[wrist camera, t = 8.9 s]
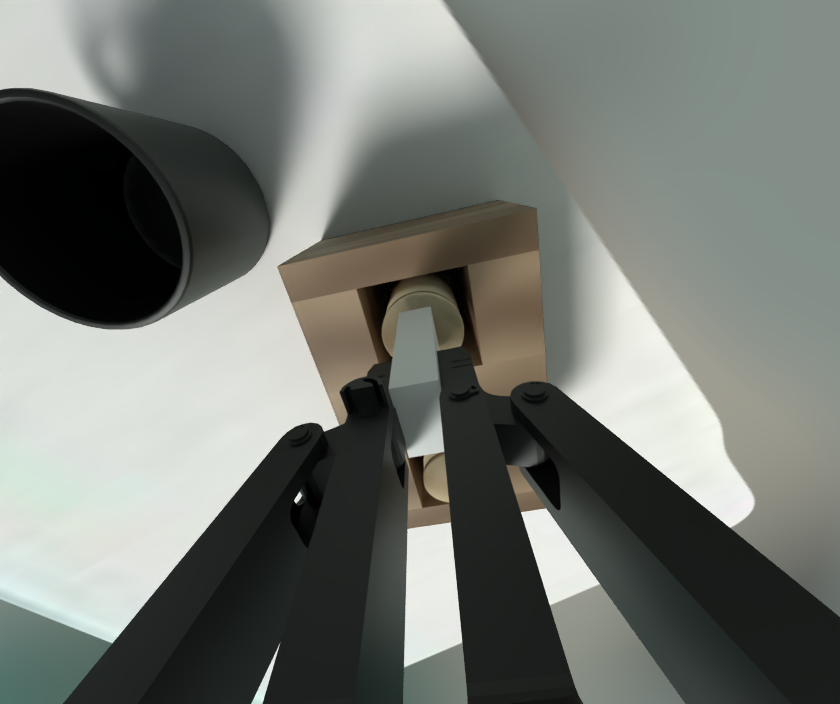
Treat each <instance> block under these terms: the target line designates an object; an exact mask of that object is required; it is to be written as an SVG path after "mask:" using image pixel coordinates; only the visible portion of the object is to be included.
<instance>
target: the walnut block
mask: <svg viewBox="0 0 840 704" xmlns="http://www.w3.org/2000/svg"><path fill="white" fill-rule="evenodd" d="M277 268H278V270H279V273H280V275H281V278H282V280H283V283H284V285H285V288H286V290H287V293H288V295H289V298H290V301H291V303H292V306H293V308H294V311H295V313H296V316H297V318H298V321H299V323H300V326H301V329H302V331H303V334H304V336H305V339H306V341H307V344H308V346H309V349H310V351H311V354H312V356H313V359H314V362H315V364H316V367H317V369H318V372H319V374H320V377H321V379H322V382H323V384H324V387H325V389H326V392H327V395H328V397H329V400H330V402H331V405H332V407H333V410H334V412H335V415H336V417H337V420H338V423H339V425H342V424H344V423H345V422H346V418H347V415H348V414H347V411H346V409H345V406H344V403H343V401H342V398H341V395H340V393H339V392H340V390H341V389H342V387H344V386H345V385H346V384H347V383H349V382H351V381H353V380H355V379H358V378H361V377H366V376H367V373H368V371H369V370H370V369H371V368H372V366H373V365H374V364H378V363H383V362H388V361H392V359H393V357H392V356H391V355H390V354H389V352H388V351H387V349H386V347H385V345H384V342H383V338H382V325H383V321H384V317H385V315H386V311H387V307H388V303H387V299H386V296H385V292H384V288H383V284H382V283H387V282H391V281H396V280H401V279H405V278H410V277H415V276H419V275H424V274H429V273H433V272H438V271H443V270H448V269H452V268H457V270H458V276H459V282H460V288H461V294H462V300H463V306H464V312H465V314H462V315H461V318H462V321H463V325H464V338H463V342H462V345H461V346H462V347H464V348H465V349H467V350H468V351H469V353H470V356H471V359H472V362H473V366H474V369H475V372H476V376H477V379H478V382H479V385H480V386H481V388H482V389H483V390H484V391H485V392H487V393H489V394H493V395H498V396H510V394H511V391H512V390H513V389H514V388H515V387H516V386H518V385H520V384H522V383H526V382H531V381H541V382H546V383H547V374H546V358H545V341H544V325H543V308H542V292H541V275H540V258H539V242H538V225H537V209H536V208H532V207H528V206H523V205H519V204H514V203H509V202H505V201H500V200H497V201H492V202H488V203H484V204H479V205H475V206H471V207H466V208H462V209H457V210H453V211H449V212H444V213H440V214H436V215H431V216H427V217H422V218H418V219H414V220H409V221H405V222H401V223H396V224H392V225H387V226H383V227H379V228H374V229H370V230H366V231H361V232H357V233H353V234H348V235H344V236H339V237H335V238H331V239H326V240H322V241H320V242H318V243H316V244H315V245H313V246H311V247H309V248H308V249H306V250H304V251H303V252H301V253H299V254H298V255H296V256H294V257H293V258H291V259H289V260H287V261H286V262H284V263H282V264H281V265H279V266H277ZM405 458H406V461H407V465H408V469H409V482H408V521H407V529H409V528H415V527H422V526H429V525H436V524H443V523H449V522H451V517H450V507H449V503H448V502H444V501H441V500H438V499H436V498H434V497H433V496H432V495H430V494H429V493H428V491H427V490H426V488H425V486H424V455H423V456H417V457H411V458H409V456H408V453H407V450H406V451H405ZM506 466H507V469H508V472H509V476H510V479H511V482H512V485H513V489H514V492H515V495H516V498H517V501H518V505H519V508H520V511H521V512H524V511H531V510H538V509H545V508H546V507H545V506H544V504H543V503H542V501H541V500H540V499H539V497H538V496H537V494H536V493H535V492H534V490H533V489H532V487H531V486H530V485H529V483H528V482H527V480H526V479H525V478H524V476H523V475H522V473H521V472H520V469H519V467H518V466H511V465H506Z"/></svg>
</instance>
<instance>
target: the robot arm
mask: <svg viewBox="0 0 840 704" xmlns="http://www.w3.org/2000/svg"><path fill="white" fill-rule="evenodd" d="M339 393H340V395H341V398H342V401H343V403H344V406H345V409H346V411H347V414H348V415H347V418H346V422H345V423H344V424H342V425H340V426H338V427H335V428H333V429H330V430H328V431H325V432H324V431H323V429H322V427H321V426H320V425H319V424H317V423H307V424H302V425H300V426H296V427H294V428H293V429H291V430H290V431H288V432H287V433H286V434H285V435H284V436H283V437H282V438H281V439H280V440H279V441H278V442H277V444H276V445H275V446H274V447H273V449H272V450H271V451H270V452H269V453H268V455H267V456H266V457H265V458H264V460H263V461H262V462H261V463H260V464H259V466H258V467H257V468H256V469H255V471H254V472H253V473H252V474H251V475H250V477H249V478H248V479H247V480H246V481H245V483H244V484H243V485H242V486H241V488H240V489H239V490H238V491H237V492H236V494H235V495H234V496H233V497H232V499H231V500H230V501H229V502H228V503H227V505H226V506H225V507H224V508H223V510H222V511H221V512H220V513H219V514H218V516H217V517H216V518H215V519H214V520H213V522H212V523H211V524H210V525H209V527H208V528H207V529H206V530H205V531H204V533H203V534H202V535H201V536H200V538H199V539H198V540H197V541H196V542H195V544H194V545H193V546H192V547H191V548H190V550H189V551H188V552H187V553H186V555H185V556H184V557H183V558H182V559H181V561H180V562H179V563H178V564H177V566H176V567H175V568H174V569H173V570H172V572H171V573H170V574H169V575H168V577H167V578H166V579H165V580H164V581H163V583H162V584H161V585H160V586H159V587H158V589H157V590H156V591H155V592H154V594H153V595H152V596H151V597H150V598H149V600H148V601H147V602H146V603H145V605H144V606H143V607H142V608H141V609H140V611H139V612H138V613H137V614H136V616H135V617H134V618H133V619H132V620H131V622H130V623H129V624H128V625H127V626H126V628H125V629H124V630H123V631H122V633H121V634H120V635H119V636H118V637H117V639H116V640H115V641H114V642H113V644H112V645H111V646H110V647H109V648H108V650H107V651H106V652H105V653H104V655H103V656H102V657H101V658H100V660H99V661H98V662H97V663H96V664H95V665H94V667H93V668H92V669H91V670H90V672H89V673H88V674H87V675H86V676H85V678H84V679H83V680H82V681H81V683H80V684H79V685H78V686H77V687H76V689H75V690H74V691H73V692H72V694H71V695H70V696H69V697H68V698H67V700H66V701H65V702H64V703H63V704H251V703H252V701H253V699H254V697H255V694H256V692H257V690H258V688H259V686H260V684H261V682H262V680H263V678H264V676H265V673H266V671H267V669H268V667H269V665H270V663H271V661H272V659H273V657H274V655H275V652H276V650H277V648H278V646H279V644H280V646H279V650H278V653H277V656H276V660H275V663H274V667H273V670H272V673H271V677H270V680H269V684H268V687H267V690H266V694H265V697H264V701H263V704H403V678H404V639H405V599H406V560H407V521H408V482H409V469H408V465H407V461H406V458H405V451H406V450H407V453H408V456H409V458H411V457H417V456H423V455H429V454H435V453H441V452H444V454H445V465H446V475H447V486H448V496H449V507H450V517H451V527H452V538H453V548H454V559H455V569H456V580H457V590H458V601H459V611H460V621H461V632H462V642H463V652H464V662H465V673H466V683H467V696H468V704H583V702H582V701H581V699H580V697H579V696H578V693H577V690H576V688H575V685H574V682H573V679H572V676H571V673H570V670H569V666H568V663H567V660H566V657H565V654H564V650H563V647H562V644H561V641H560V637H559V634H558V631H557V628H556V624H555V622H554V618H553V615H552V611H551V608H550V605H549V602H548V599H547V595H546V592H545V589H544V586H543V582H542V579H541V576H540V573H539V569H538V566H537V563H536V560H535V556H534V553H533V550H532V547H531V544H530V540H529V537H528V534H527V531H526V527H525V524H524V521H523V518H522V514H521V511H520V508H519V505H518V501H517V498H516V495H515V492H514V489H513V485H512V482H511V479H510V476H509V472H508V469H507V466H506V465H511V466H518V467H519V469H520V472H521V473H522V475H523V476H524V478H525V479H526V480H527V482H528V483H529V485H530V486H531V487H532V489H533V490H534V492H535V493H536V494H537V496H538V497H539V499H540V500H541V501H542V503H543V504H544V506H545V507H546V508H547V510H548V511H549V513H550V514H551V515H552V517H553V518H554V520H555V521H556V523H557V524H558V525H559V527H560V528H561V530H562V531H563V532H564V534H565V535H566V537H567V538H568V539H569V541H570V542H571V544H572V545H573V546H574V548H575V549H576V551H577V552H578V553H579V555H580V556H581V558H582V559H583V560H584V562H585V563H586V565H587V566H588V567H589V569H590V570H591V572H592V573H593V574H594V576H595V577H596V579H597V580H598V581H599V583H600V584H601V586H602V587H603V588H604V590H605V591H606V593H607V594H608V596H609V597H610V598H611V600H612V601H613V603H614V604H615V605H616V607H617V608H618V609H619V611H620V612H621V614H622V615H623V616H624V618H625V619H626V621H627V622H628V623H629V625H630V626H631V628H632V629H633V630H634V632H635V633H636V635H637V636H638V638H639V639H640V640H641V642H642V643H643V645H644V646H645V647H646V649H647V650H648V652H649V653H650V654H651V656H652V657H653V659H654V660H655V662H656V663H657V664H658V666H659V667H660V668H661V670H662V671H663V673H664V674H665V676H666V677H667V678H668V680H669V681H670V683H671V684H672V685H673V687H674V688H675V689H676V691H677V692H678V694H679V695H680V697H681V698H682V699H683V701H684V702H685V703H686V704H840V617H839V616H838V615H836V614H835V613H834V612H833V611H832V610H830V609H829V608H828V607H827V606H825V605H824V604H823V603H822V602H821V601H819V600H818V599H817V598H816V597H814V596H813V595H812V594H811V593H809V592H808V591H807V590H806V589H805V588H803V587H802V586H801V585H800V584H798V583H797V582H796V581H795V580H793V579H792V578H791V577H790V576H789V575H787V574H786V573H785V572H784V571H782V570H781V569H780V568H779V567H777V566H776V565H775V564H774V563H772V562H771V561H770V560H769V559H767V558H766V557H765V556H764V555H763V554H761V553H760V552H759V551H758V550H756V549H755V548H754V547H753V546H752V545H750V544H749V543H748V542H746V541H745V540H744V539H743V538H742V537H740V536H739V535H738V534H737V533H736V532H734V531H733V530H732V529H731V528H729V527H728V526H727V525H726V524H724V523H723V522H722V521H721V520H720V519H718V518H717V517H716V516H715V515H713V514H712V513H711V512H710V511H708V510H707V509H706V508H705V507H703V506H702V505H701V504H700V503H699V502H697V501H696V500H695V499H694V498H692V497H691V496H690V495H689V494H687V493H686V492H685V491H684V490H683V489H681V488H680V487H679V486H678V485H676V484H675V483H674V482H673V481H671V480H670V479H669V478H668V477H667V476H665V475H664V474H663V473H662V472H660V471H659V470H658V469H657V468H655V467H654V466H653V465H652V464H650V463H649V462H648V461H647V460H646V459H644V458H643V457H642V456H641V455H639V454H638V453H637V452H636V451H634V450H633V449H632V448H631V447H630V446H628V445H627V444H626V443H625V442H623V441H622V440H621V439H620V438H618V437H617V436H616V435H615V434H614V433H612V432H611V431H610V430H609V429H607V428H606V427H605V426H604V425H602V424H601V423H600V422H599V421H597V420H596V419H595V418H594V417H593V416H591V415H590V414H589V413H588V412H586V411H585V410H584V409H583V408H581V407H580V406H579V405H578V404H577V403H575V402H574V401H573V400H572V399H570V398H569V397H568V396H567V395H565V394H564V393H563V392H562V391H561V390H559V389H558V388H557V387H555V386H553V385H552V384H550V383H546V382H541V381H531V382H526V383H522V384H520V385H518V386H516V387H515V388H514V389H513V390H512V391H511V394H510V396H498V395H493V394H489V393H487V392H485V391H484V390H483V389H482V388H481V386H480V385H479V382H478V379H477V376H476V372H475V369H474V366H473V362H472V359H471V356H470V353H469V351H468V350H467V349H465V348H464V347H462V346H460V347H455V348H450V349H445V350H440V349H439V344H438V340H437V335H436V330H435V325H434V321H433V316H432V311H431V306H430V307H425V308H420V309H415V310H410V311H405V312H400V313H399V316H398V323H397V330H396V337H395V345H394V352H393V359H392V361H388V362H383V363H378V364H374V365H373V366H372V368H371V369H370V370H369V371H368V373H367V376H366V377H361V378H358V379H355V380H353V381H351V382H349V383H347V384H346V385H345V386H344V387H342V389H341V390H340V392H339ZM299 492H300V493H301V494H302V497H301V499H300V500H299V501H298V503H297V504H296V503H295V502H294V499H295V498H296V496H297V495H298V493H299ZM280 642H281V643H280Z"/></svg>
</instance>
